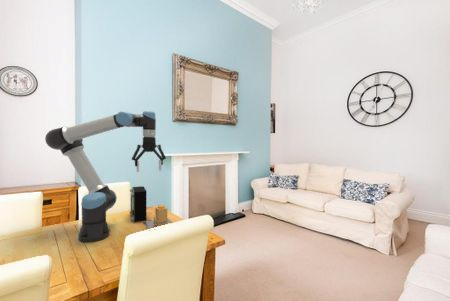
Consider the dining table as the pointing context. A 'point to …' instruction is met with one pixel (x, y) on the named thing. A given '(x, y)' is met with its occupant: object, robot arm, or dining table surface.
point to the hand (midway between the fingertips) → (149, 171)
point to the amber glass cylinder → (155, 221)
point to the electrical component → (138, 204)
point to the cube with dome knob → (161, 213)
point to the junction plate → (151, 223)
